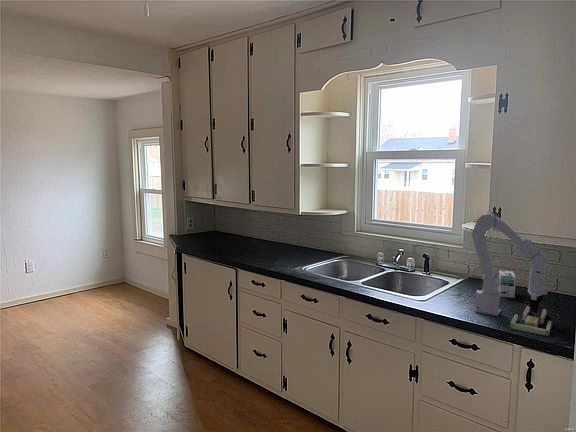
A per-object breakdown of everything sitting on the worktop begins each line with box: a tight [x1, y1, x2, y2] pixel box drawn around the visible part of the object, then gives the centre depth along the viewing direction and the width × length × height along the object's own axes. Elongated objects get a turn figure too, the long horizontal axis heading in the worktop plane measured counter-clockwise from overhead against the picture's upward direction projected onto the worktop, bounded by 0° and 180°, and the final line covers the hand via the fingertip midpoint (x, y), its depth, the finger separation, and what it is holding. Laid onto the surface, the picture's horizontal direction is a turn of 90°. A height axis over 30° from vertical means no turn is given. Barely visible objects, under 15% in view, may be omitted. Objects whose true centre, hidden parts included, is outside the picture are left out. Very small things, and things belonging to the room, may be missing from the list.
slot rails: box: [521, 305, 547, 325], centre depth 183 cm, size 8×12×2 cm, turn 145°
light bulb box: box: [498, 270, 517, 299], centre depth 212 cm, size 11×7×11 cm, turn 158°
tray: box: [509, 314, 553, 337], centre depth 173 cm, size 13×12×2 cm
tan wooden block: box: [524, 318, 538, 328], centre depth 172 cm, size 4×4×3 cm
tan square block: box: [527, 315, 540, 327], centre depth 176 cm, size 4×4×3 cm
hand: (534, 311), depth 181 cm, fingers closed
